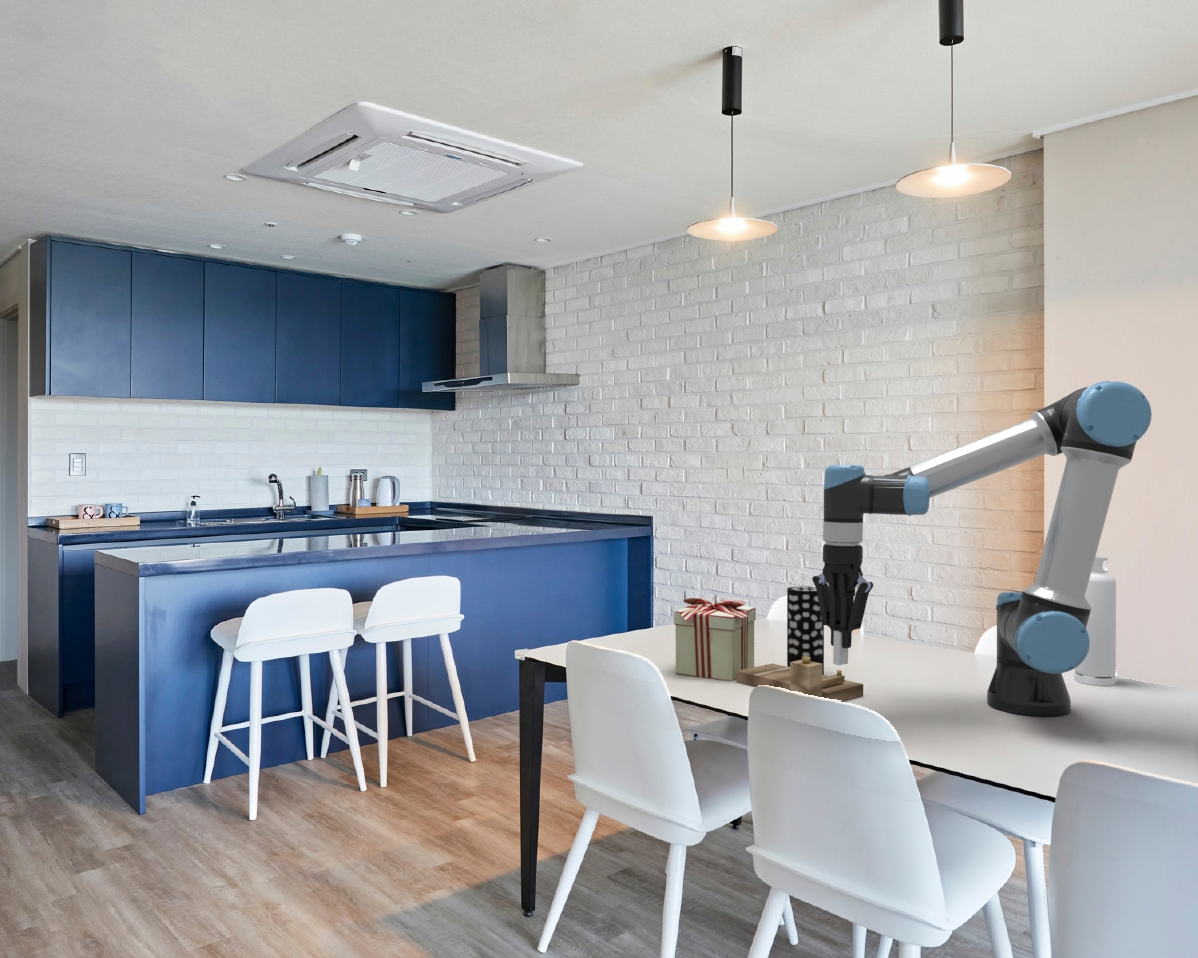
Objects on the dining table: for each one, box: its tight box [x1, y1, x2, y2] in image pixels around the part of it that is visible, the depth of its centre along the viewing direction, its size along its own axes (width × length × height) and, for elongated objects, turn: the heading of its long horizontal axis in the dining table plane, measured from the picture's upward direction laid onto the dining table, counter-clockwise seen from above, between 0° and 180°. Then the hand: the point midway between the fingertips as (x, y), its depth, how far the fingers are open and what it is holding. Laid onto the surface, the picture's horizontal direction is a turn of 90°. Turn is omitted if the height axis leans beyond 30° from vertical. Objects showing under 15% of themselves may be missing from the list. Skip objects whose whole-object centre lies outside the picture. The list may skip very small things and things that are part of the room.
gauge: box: [790, 656, 846, 697], centre depth 184 cm, size 5×13×9 cm, turn 128°
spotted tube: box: [786, 586, 825, 675], centre depth 206 cm, size 8×8×20 cm
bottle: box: [1073, 555, 1117, 687], centre depth 199 cm, size 8×8×28 cm
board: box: [736, 663, 864, 702], centre depth 193 cm, size 25×12×3 cm, turn 38°
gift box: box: [673, 597, 757, 682], centre depth 209 cm, size 17×18×17 cm
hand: (840, 663), depth 174 cm, fingers closed
